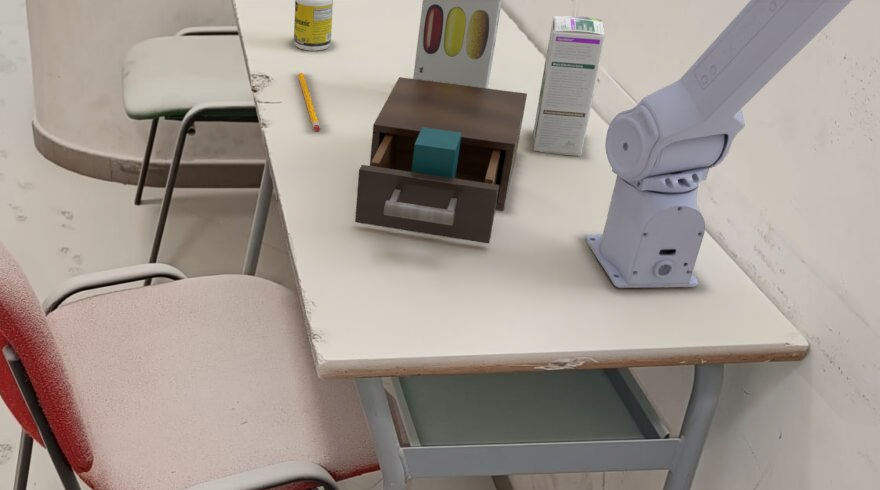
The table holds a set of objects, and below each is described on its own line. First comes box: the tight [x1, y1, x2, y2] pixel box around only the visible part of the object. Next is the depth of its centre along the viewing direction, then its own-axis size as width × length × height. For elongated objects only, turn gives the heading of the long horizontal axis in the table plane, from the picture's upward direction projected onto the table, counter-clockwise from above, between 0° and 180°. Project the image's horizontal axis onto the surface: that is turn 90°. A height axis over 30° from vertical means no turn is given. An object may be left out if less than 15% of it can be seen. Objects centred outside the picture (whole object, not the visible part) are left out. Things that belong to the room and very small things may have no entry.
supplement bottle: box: [293, 0, 334, 52], centre depth 144 cm, size 5×5×10 cm
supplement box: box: [412, 0, 503, 89], centre depth 126 cm, size 10×9×17 cm
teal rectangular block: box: [412, 127, 462, 178], centre depth 101 cm, size 4×4×7 cm
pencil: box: [297, 72, 321, 133], centre depth 129 cm, size 1×18×1 cm, turn 6°
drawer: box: [354, 133, 502, 245], centre depth 102 cm, size 18×13×6 cm
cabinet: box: [369, 76, 528, 212], centre depth 111 cm, size 15×15×8 cm
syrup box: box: [532, 15, 606, 157], centre depth 116 cm, size 6×6×14 cm
